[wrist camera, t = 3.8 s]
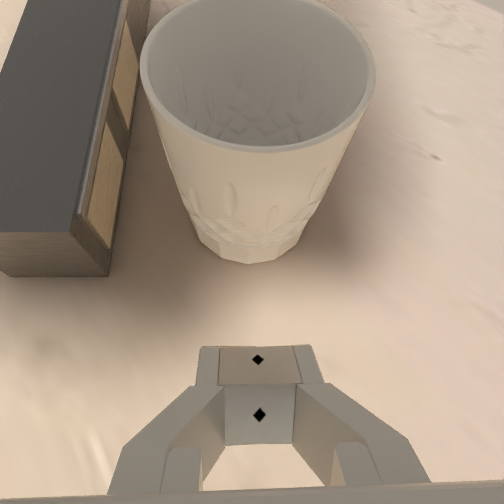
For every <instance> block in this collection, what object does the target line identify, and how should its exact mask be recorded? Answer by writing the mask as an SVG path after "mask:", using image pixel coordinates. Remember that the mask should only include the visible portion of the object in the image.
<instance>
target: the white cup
mask: <svg viewBox="0 0 504 504" xmlns="http://www.w3.org/2000/svg"><path fill="white" fill-rule="evenodd" d="M140 76H141V81H142V84H143V87H144V90H145V93H146V96H147V99H148V102H149V105H150V108H151V111H152V114H153V117H154V120H155V123H156V126H157V129H158V132H159V135H160V139H161V142H162V145H163V148H164V151H165V154H166V157H167V160H168V163H169V166H170V169H171V171H172V174H173V176H174V179H175V182H176V185H177V187H178V190H179V193H180V195H181V198H182V201H183V204H184V206H185V208H186V210H187V211H188V213H189V216H190V219H191V222H192V224H193V226H194V228H195V230H196V233H197V235H198V237H199V239H200V241H201V242H202V243H203V244H204V245H205V246H207V247H208V248H209V249H211V250H212V251H213V252H214V253H216V254H217V255H218V256H219V257H221V258H223V259H228V260H232V261H236V262H240V263H244V264H253V263H259V262H265V261H270V260H275V259H277V258H278V257H279V256H281V255H282V254H284V253H285V252H287V251H288V250H289V249H291V248H292V247H294V246H295V245H296V244H297V242H298V240H299V238H300V236H301V234H302V232H303V230H304V228H305V226H306V224H307V222H308V220H309V219H310V217H311V216H312V215H313V214H314V213H315V211H316V209H317V207H318V205H319V203H320V202H321V200H322V198H323V197H324V195H325V192H326V190H327V188H328V186H329V184H330V182H331V180H332V178H333V175H334V173H335V171H336V169H337V167H338V165H339V163H340V161H341V159H342V157H343V155H344V153H345V151H346V149H347V147H348V145H349V142H350V140H351V138H352V136H353V134H354V132H355V130H356V128H357V126H358V124H359V122H360V120H361V118H362V116H363V114H364V112H365V110H366V107H367V105H368V103H369V101H370V99H371V97H372V94H373V90H374V86H375V65H374V60H373V57H372V54H371V51H370V49H369V47H368V45H367V43H366V42H365V40H364V39H363V37H362V36H361V34H360V33H359V32H358V31H357V30H356V28H355V27H354V26H353V25H352V24H351V23H349V22H348V21H347V20H346V19H345V18H344V17H342V16H341V15H340V14H338V13H337V12H335V11H334V10H332V9H330V8H329V7H327V6H325V5H323V4H321V3H319V2H317V1H315V0H189V1H187V2H185V3H183V4H181V5H179V6H178V7H176V8H175V9H173V10H172V11H170V12H169V13H168V14H166V15H165V16H164V17H163V18H162V19H161V20H160V21H159V22H158V23H157V24H156V25H155V26H154V27H153V29H152V30H151V32H150V33H149V35H148V36H147V38H146V40H145V42H144V45H143V48H142V51H141V56H140Z"/></svg>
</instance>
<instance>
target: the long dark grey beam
mask: <svg viewBox="0 0 504 504" xmlns="http://www.w3.org/2000/svg"><path fill="white" fill-rule="evenodd" d="M150 2H151V0H28V1H27V4H26V7H25V9H24V12H23V15H22V17H21V20H20V23H19V25H18V28H17V31H16V33H15V36H14V38H13V41H12V44H11V46H10V49H9V52H8V54H7V57H6V60H5V62H4V65H3V67H2V70H1V73H0V271H2V272H4V273H5V274H7V275H8V276H10V277H108V273H109V267H110V260H111V254H112V248H113V241H114V235H115V228H116V222H117V215H118V209H119V202H120V196H121V189H122V183H123V176H124V170H125V163H126V157H127V150H128V144H129V137H130V131H131V125H132V118H133V112H134V105H135V99H136V92H137V86H138V79H139V73H140V56H141V51H142V48H143V45H144V40H145V34H146V27H147V21H148V15H149V8H150Z"/></svg>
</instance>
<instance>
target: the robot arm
mask: <svg viewBox="0 0 504 504" xmlns="http://www.w3.org/2000/svg"><path fill="white" fill-rule="evenodd" d="M248 444H292V446H293V447H294V448H295V449H296V451H297V452H298V453H299V454H300V455H301V457H302V458H303V459H304V460H305V462H306V463H307V464H308V465H309V466H310V468H311V469H312V470H313V471H314V473H315V474H316V475H317V476H318V477H319V479H320V480H321V481H322V482H323V484H324V485H325V486H323V487H297V488H272V489H246V490H221V491H203V481H204V480H205V478H206V477H207V475H208V473H209V472H210V470H211V469H212V467H213V466H214V464H215V463H216V461H217V459H218V458H219V456H220V455H221V453H222V452H223V450H224V449H225V446H231V445H248ZM0 504H504V480H487V481H462V482H434V483H431V481H430V479H429V477H428V476H427V474H426V472H425V470H424V468H423V466H422V465H421V463H420V461H419V459H418V457H417V455H416V454H415V452H414V450H413V448H412V446H411V444H410V443H409V441H408V439H407V438H405V437H404V436H403V435H401V434H400V433H399V432H397V431H396V430H394V429H393V428H392V427H390V426H389V425H387V424H386V423H385V422H383V421H382V420H381V419H379V418H378V417H376V416H375V415H374V414H372V413H371V412H369V411H368V410H367V409H365V408H364V407H362V406H361V405H360V404H358V403H357V402H356V401H354V400H353V399H351V398H350V397H349V396H347V395H346V394H344V393H343V392H342V391H340V390H339V389H338V388H336V387H335V386H333V385H332V384H331V383H325V382H324V380H323V377H322V374H321V371H320V368H319V366H318V363H317V360H316V357H315V354H314V352H313V349H312V346H311V345H309V344H307V345H292V346H264V347H256V346H220V347H219V346H202V347H201V348H200V354H199V361H198V368H197V376H196V383H195V386H189V387H188V388H187V389H186V390H185V391H184V392H183V393H182V394H181V395H179V396H178V397H177V398H176V399H175V400H174V401H173V402H172V403H171V404H170V405H168V406H167V407H166V408H165V409H164V410H163V411H162V412H161V413H160V414H159V415H158V416H156V417H155V418H154V419H153V420H152V421H151V422H150V423H149V424H148V425H147V426H145V427H144V428H143V429H142V430H141V431H140V432H139V433H138V434H137V435H136V436H134V437H133V438H132V439H131V440H130V441H129V442H128V443H127V444H126V445H125V446H123V448H122V451H121V454H120V457H119V460H118V463H117V466H116V469H115V472H114V475H113V478H112V481H111V484H110V487H109V490H108V493H107V495H89V496H63V497H36V498H10V499H0Z"/></svg>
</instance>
